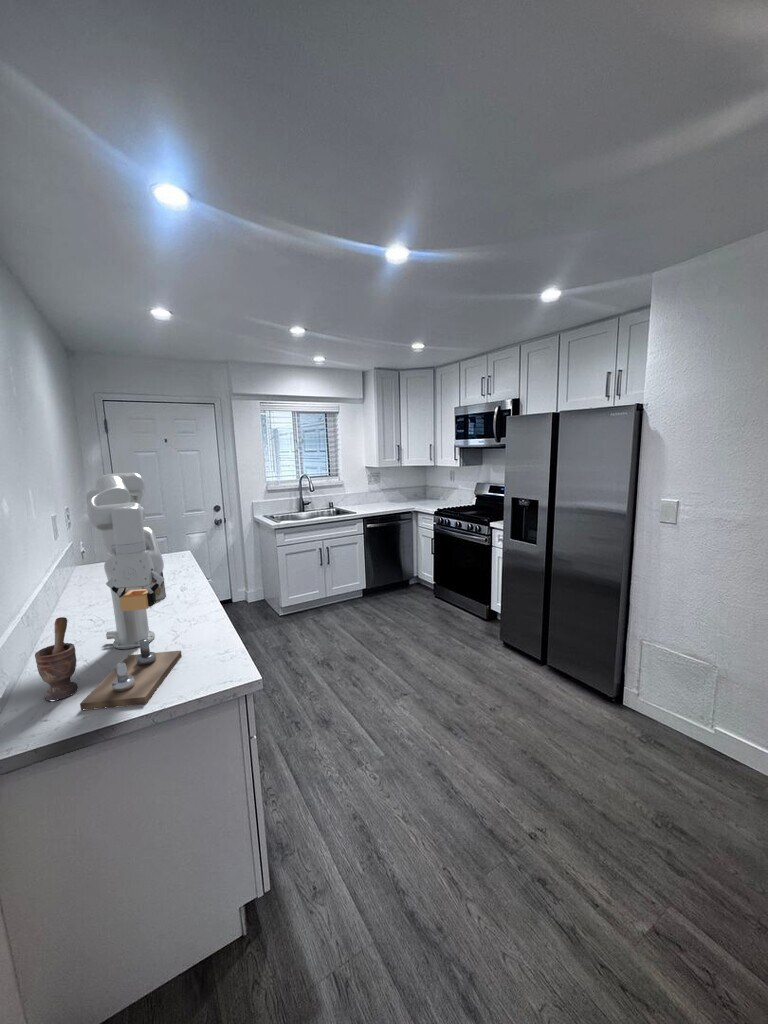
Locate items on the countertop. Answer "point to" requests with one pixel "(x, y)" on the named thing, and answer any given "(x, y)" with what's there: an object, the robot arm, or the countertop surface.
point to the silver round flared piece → (122, 679)
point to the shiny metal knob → (145, 654)
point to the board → (144, 682)
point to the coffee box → (159, 589)
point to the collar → (134, 600)
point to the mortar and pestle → (58, 664)
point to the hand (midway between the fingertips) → (138, 605)
